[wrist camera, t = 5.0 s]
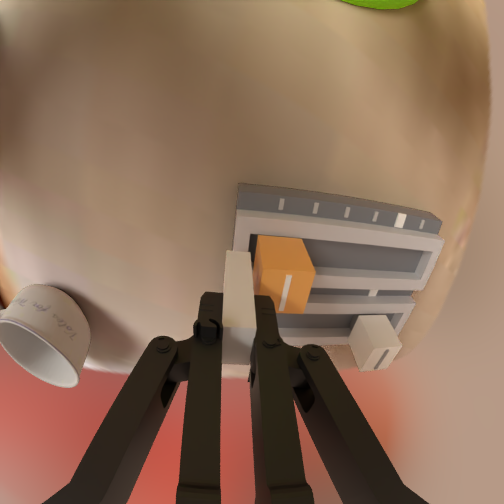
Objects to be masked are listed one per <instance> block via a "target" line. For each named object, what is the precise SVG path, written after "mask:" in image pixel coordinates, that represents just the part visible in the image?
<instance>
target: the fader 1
mask: <svg viewBox="0 0 504 504" xmlns="http://www.w3.org/2000/svg"><path fill="white" fill-rule="evenodd" d="M315 273H316V271H315V269H314V267H313V264H312V262H311V259H310V257H309V255H308V252H307V250H306V248H305V245H304V243H303V241H302V239H300V238H288V237H277V236H265V235H258V239H257V246H256V253H255V260H254V267H253V274H252V275H253V287H254V295H266V296H270V297H271V299H272V300H273V301H274V305H275V311H276V313H288V314H303V313H304V310H305V307H306V303H307V300H308V297H309V293H310V290H311V287H312V283H313V280H314V276H315Z"/></svg>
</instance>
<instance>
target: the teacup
mask: <svg viewBox="0 0 504 504" xmlns="http://www.w3.org/2000/svg"><path fill="white" fill-rule="evenodd" d="M90 340H91V333H90V327H89V324H88V322H87V320H86V318H85V316H84V314H83V313H82V311H81V309H80V308H79V306H78V305H77V303H76V302H75V301H74V300H73V299H72V298H71V297H70V296H69V295H67V294H66V293H65V292H63V291H61V290H59V289H57V288H55V287H51V286H46V285H40V284H34V285H29V286H27V287H25V288H24V289H22V290H21V291H20V292H19V293H18V294H17V295H16V296H15V298H14V299H13V300H12V302H11V303H10V305H9V306H8V308H7V309H4V310H0V343H1V345H2V346H3V348H4V349H5V350H6V352H8V354H9V355H10V356H11V357H12V358H13V359H14V360H15V361H16V362H17V363H18V364H19V365H20V366H22V367H23V368H24V369H25V370H27V371H28V372H30V373H31V374H33V375H34V376H36V377H38V378H39V379H41V380H43V381H45V382H48V383H50V384H53V385H55V386H60V387H66V388H71V387H75V386H76V385H77V384H78V383H79V379H80V378H79V376H80V373H81V370H82V368H83V365H84V362H85V359H86V356H87V353H88V350H89V346H90Z"/></svg>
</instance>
